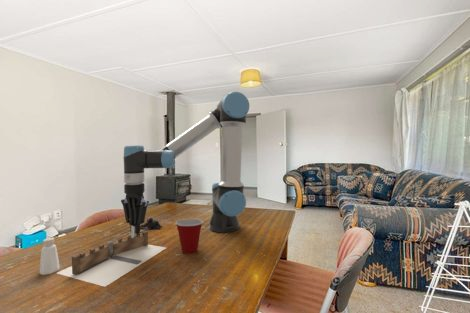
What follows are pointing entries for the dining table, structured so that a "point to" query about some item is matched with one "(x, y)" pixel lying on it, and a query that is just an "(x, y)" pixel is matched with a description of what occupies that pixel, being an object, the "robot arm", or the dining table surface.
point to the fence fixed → (88, 259)
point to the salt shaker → (49, 257)
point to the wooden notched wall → (127, 244)
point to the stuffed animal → (151, 225)
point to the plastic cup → (189, 234)
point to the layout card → (114, 266)
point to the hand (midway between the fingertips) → (135, 240)
